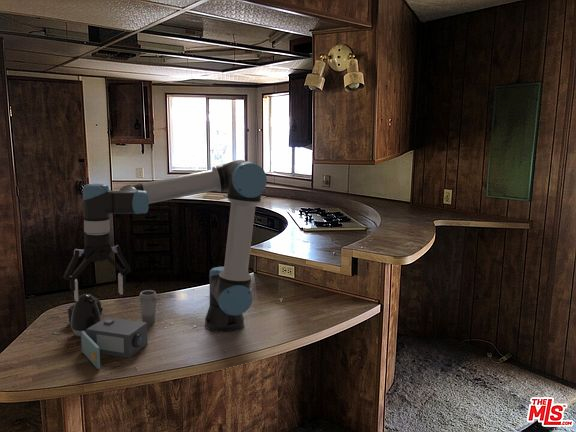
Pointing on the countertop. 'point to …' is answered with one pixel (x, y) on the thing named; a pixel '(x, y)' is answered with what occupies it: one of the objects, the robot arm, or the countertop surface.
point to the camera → (73, 307)
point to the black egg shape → (84, 314)
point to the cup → (148, 306)
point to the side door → (90, 349)
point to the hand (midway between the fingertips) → (99, 296)
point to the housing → (119, 336)
